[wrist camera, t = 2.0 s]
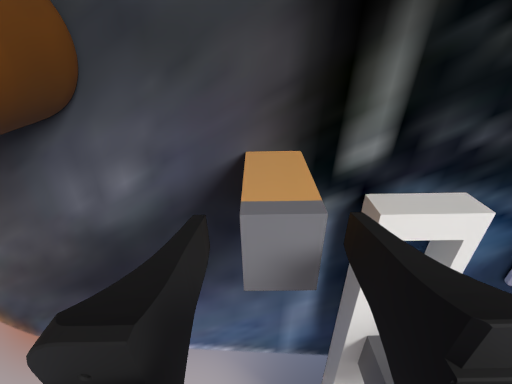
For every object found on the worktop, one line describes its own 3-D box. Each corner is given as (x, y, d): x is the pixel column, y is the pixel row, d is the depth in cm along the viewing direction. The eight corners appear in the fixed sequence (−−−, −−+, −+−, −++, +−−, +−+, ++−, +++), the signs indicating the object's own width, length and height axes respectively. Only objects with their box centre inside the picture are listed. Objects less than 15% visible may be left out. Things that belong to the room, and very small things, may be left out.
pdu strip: (466, 192, 17) (578, 269, 11) (376, 386, 31) (405, 467, 25) (365, 194, 18) (423, 271, 11) (320, 386, 31) (336, 467, 25)
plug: (300, 150, 16) (327, 213, 10) (296, 209, 18) (316, 290, 12) (246, 151, 16) (239, 214, 10) (248, 210, 18) (244, 290, 12)
